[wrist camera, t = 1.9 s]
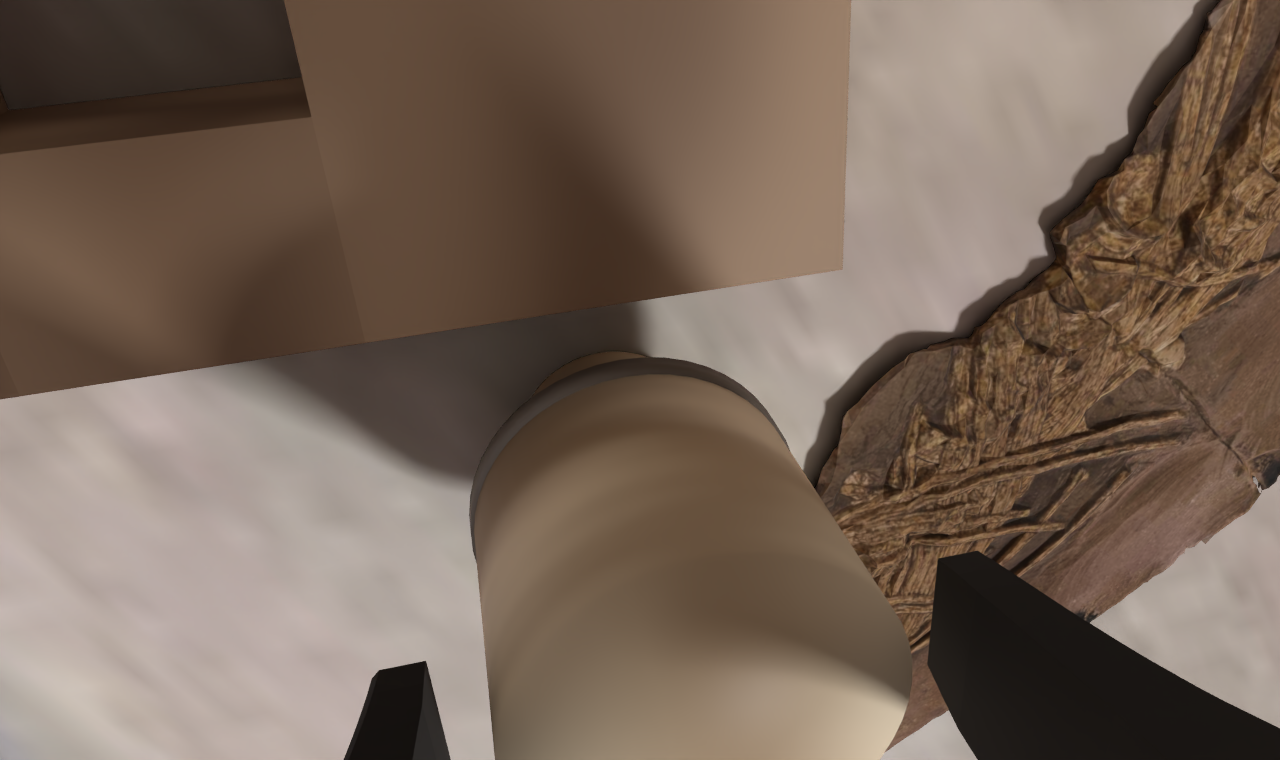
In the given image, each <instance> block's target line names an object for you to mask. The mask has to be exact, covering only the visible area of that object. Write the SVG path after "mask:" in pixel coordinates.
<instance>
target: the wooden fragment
mask: <svg viewBox="0 0 1280 760" xmlns="http://www.w3.org/2000/svg"><path fill="white" fill-rule="evenodd" d="M1153 104H1155V105H1156V106H1158V107H1157V108H1156V109H1155V110H1153V111H1152V112H1151V113H1149V116H1148V119H1147V121H1146V124H1145V127H1144V130H1143V131H1142V132H1141V133H1140V134H1139V136H1138V138H1137V141H1136V144H1135V147H1134V149H1133V151H1132V153H1131V154H1130V155H1129V156H1128V157H1127V158H1125V159H1124V161H1123V163H1122V164H1121V166H1120V167H1119V169H1118V171H1116V172H1114V173H1112V174H1110V175H1107V176H1105V177H1103V178H1101V179H1099V180H1098V181H1097V183H1096V184H1095V186H1094V188H1093V190H1092V191H1091V192H1090V194H1089V195H1088V196H1087V198H1086V199H1085V200H1084V201H1083V203H1082V204H1081V205H1080V206H1079V207H1077V208H1076V209H1074V210H1073V211H1072V212H1071V213H1070V214H1068V215H1067V216H1066V217H1065V218H1064V219H1063V220H1061V221H1060V222H1059V223H1058V224H1057V225H1056V226H1055V227H1054V228H1053V229H1052V230H1051V231H1050V236H1051V239H1052V242H1053V245H1054V249H1055V252H1056V260H1055V261H1054V262H1053V263H1052V265H1051V266H1050V267H1049V268H1048V269H1047V270H1046V271H1044V272H1043V273H1041V274H1040V275H1038V276H1037V277H1035V278H1034V279H1033V280H1032V281H1031V282H1030V283H1029V284H1028V286H1027V287H1026V288H1025V289H1024V290H1020V291H1018V292H1017V293H1015V294H1014V295H1012V296H1011V297H1009V298H1008V299H1006V300H1005V301H1004V302H1003V303H1002V304H1001V305H1000V306H999V307H998V308H997V309H996V311H995V312H994V313H993V314H992V315H991V317H990V318H989V319H988V320H987V322H986V323H984V324H983V325H982V326H979V327H975V328H974V332H973V334H972V335H971V337H970V338H951V339H949V340H947V341H945V342H941V343H936V344H932V345H930V346H929V347H928V349H923V350H920V351H917V352H914V353H911V354H909V355H908V356H907V357H906V359H905V360H904V361H902V362H900V363H899V364H897V365H896V366H894V367H893V368H892V369H891V370H890V371H889V372H887V373H886V374H885V375H884V376H883V377H882V378H881V379H879V380H878V381H877V382H876V383H875V384H874V385H873V386H872V387H871V388H870V389H869V390H868V391H867V393H866V394H865V395H864V396H863V397H862V398H861V400H860V401H859V402H858V403H857V404H856V405H854V406H853V407H852V408H851V409H849V410H848V411H847V412H846V414H845V415H844V416H843V419H842V422H841V425H842V432H841V435H840V439H839V443H838V446H837V447H836V448H835V449H834V450H833V452H832V454H831V456H830V457H829V459H828V461H827V462H826V464H825V465H824V467H823V468H822V470H821V473H820V476H819V480H818V484H817V486H816V488H815V490H816V492H817V493H818V495H819V497H820V498H821V500H822V501H823V503H824V504H825V506H826V507H827V509H828V510H829V512H830V513H831V515H832V516H833V518H834V519H835V521H836V523H837V524H838V526H839V527H840V529H841V530H842V532H843V533H844V535H845V536H846V538H847V539H848V541H849V542H850V544H851V546H852V547H853V549H854V550H855V552H856V553H857V555H858V556H859V558H860V559H861V561H862V562H863V564H864V565H865V567H866V568H867V570H868V572H869V573H870V575H871V576H872V578H873V579H874V581H875V582H876V584H877V585H878V587H879V588H880V590H881V591H882V593H883V595H884V596H885V598H886V599H887V601H888V602H889V604H890V605H891V607H892V608H893V610H894V612H895V613H896V615H897V616H898V618H899V620H900V621H901V623H902V625H903V627H904V630H905V633H906V635H907V638H908V641H909V645H910V650H911V656H912V685H911V691H910V697H909V702H908V705H907V708H906V711H905V714H904V717H903V720H902V722H901V724H900V726H899V728H898V730H897V732H896V734H895V736H894V738H893V740H892V741H891V743H890V745H889V746H888V748H887V749H886V751H887V750H889V749H890V748H892V747H893V746H894V745H896V744H897V743H898V742H900V741H901V740H903V739H904V738H906V737H908V736H909V735H911V734H912V733H914V732H916V731H917V730H919V729H920V728H922V727H923V726H924V725H926V724H927V723H928V722H930V721H931V720H932V719H934V718H936V717H938V716H941V715H942V714H944V713H945V712H946V711H948V710H949V709H948V707H947V705H946V703H945V701H944V699H943V697H942V695H941V693H940V691H939V688H938V686H937V684H936V682H935V680H934V678H933V676H932V673H931V671H930V669H929V667H928V665H927V661H928V651H929V641H930V631H931V621H932V611H933V601H934V591H935V581H936V571H937V561H938V558H943V557H948V556H953V555H958V554H963V553H968V552H973V551H979V552H981V553H982V554H984V555H986V556H987V557H989V558H990V559H992V560H994V561H995V562H997V563H998V564H1000V565H1001V566H1003V567H1004V568H1006V569H1007V570H1009V571H1010V572H1012V573H1014V574H1015V575H1017V576H1018V577H1020V578H1021V579H1023V580H1024V581H1026V582H1027V583H1029V584H1030V585H1032V586H1033V587H1035V588H1036V589H1038V590H1039V591H1041V592H1042V593H1044V594H1045V595H1047V596H1048V597H1050V598H1051V599H1053V600H1054V601H1056V602H1057V603H1059V604H1060V605H1062V606H1064V607H1065V608H1067V609H1068V610H1070V611H1071V612H1073V613H1074V614H1076V615H1077V616H1079V617H1081V618H1082V619H1084V620H1085V621H1087V622H1088V623H1090V622H1091V621H1092V620H1094V619H1095V618H1097V617H1098V616H1100V615H1101V614H1102V613H1104V612H1105V611H1106V610H1108V609H1109V608H1111V607H1112V606H1114V605H1116V604H1117V603H1118V602H1120V601H1121V600H1122V599H1124V598H1125V597H1126V596H1127V595H1128V594H1130V593H1132V592H1133V591H1134V590H1136V589H1137V588H1138V587H1140V586H1141V585H1142V584H1143V583H1145V582H1148V581H1149V580H1150V579H1151V578H1152V577H1153V576H1155V575H1157V574H1159V573H1161V572H1163V571H1164V570H1166V569H1167V568H1168V567H1169V566H1171V565H1172V564H1173V563H1174V562H1175V560H1176V559H1177V558H1178V556H1180V555H1181V554H1183V553H1184V552H1185V548H1191V547H1194V546H1195V545H1197V544H1198V543H1199V542H1200V541H1201V540H1202V541H1203V542H1204V543H1205V544H1206V543H1207V542H1208V541H1209V540H1210V539H1211V537H1212V536H1213V535H1214V534H1216V533H1217V532H1219V531H1220V530H1221V529H1223V528H1224V527H1225V526H1227V525H1228V524H1229V523H1231V522H1232V521H1233V520H1235V519H1237V518H1238V517H1240V516H1242V515H1244V514H1245V513H1246V512H1247V511H1249V510H1250V508H1251V507H1252V505H1253V504H1254V503H1255V501H1256V500H1257V498H1258V497H1259V496H1260V494H1261V493H1259V491H1258V489H1257V485H1256V484H1255V483H1254V482H1253V478H1252V476H1255V477H1256V478H1257V480H1258V488H1259V487H1260V486H1261V489H1262V490H1264V489H1267V488H1269V487H1270V486H1271V485H1272V484H1274V483H1275V482H1276V481H1277V477H1278V476H1279V475H1280V0H1220V2H1219V3H1218V4H1217V5H1216V6H1215V8H1214V9H1213V10H1212V11H1211V12H1208V13H1207V16H1206V21H1205V27H1204V31H1203V32H1202V33H1201V35H1200V37H1199V41H1198V46H1197V50H1196V52H1195V54H1194V55H1193V57H1192V59H1191V60H1190V61H1189V62H1188V63H1186V64H1185V65H1183V67H1182V68H1181V69H1180V70H1179V72H1178V73H1177V74H1176V75H1175V76H1174V78H1173V79H1172V80H1171V81H1170V82H1169V83H1168V84H1167V86H1166V87H1165V89H1164V90H1163V92H1162V93H1161V95H1160V96H1159V97H1158V98H1157V99H1156V100H1155V101H1154V103H1153ZM1261 484H1262V485H1261ZM1261 492H1262V491H1261ZM886 751H885V752H886ZM885 752H884V753H885Z"/></svg>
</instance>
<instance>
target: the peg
mask: <svg viewBox="0 0 1280 760" xmlns="http://www.w3.org/2000/svg"><path fill="white" fill-rule="evenodd" d="M469 516H470V527H471V537H472V546H473V552H474V556H475V559H476V563H477V569H478V580H479V591H480V602H481V613H482V623H483V634H484V645H485V656H486V667H487V678H488V688H489V699H490V710H491V721H492V732H493V742H494V753H495V760H880V758H881V757H882V755H883V754H884V752H885V751H886V749H887V748H888V746H889V745H890V743H891V741H892V740H893V738H894V736H895V734H896V732H897V730H898V728H899V726H900V724H901V722H902V720H903V717H904V714H905V711H906V708H907V705H908V702H909V697H910V691H911V685H912V656H911V650H910V645H909V641H908V638H907V635H906V633H905V630H904V627H903V625H902V623H901V621H900V620H899V618H898V616H897V615H896V613H895V612H894V610H893V608H892V607H891V605H890V604H889V602H888V601H887V599H886V598H885V596H884V595H883V593H882V591H881V590H880V588H879V587H878V585H877V584H876V582H875V581H874V579H873V578H872V576H871V575H870V573H869V572H868V570H867V568H866V567H865V565H864V564H863V562H862V561H861V559H860V558H859V556H858V555H857V553H856V552H855V550H854V549H853V547H852V546H851V544H850V542H849V541H848V539H847V538H846V536H845V535H844V533H843V532H842V530H841V529H840V527H839V526H838V524H837V523H836V521H835V519H834V518H833V516H832V515H831V513H830V512H829V510H828V509H827V507H826V506H825V504H824V503H823V501H822V500H821V498H820V497H819V495H818V493H817V492H816V490H815V489H814V487H813V486H812V484H811V483H810V481H809V480H808V478H807V477H806V475H805V474H804V472H803V471H802V469H801V467H800V466H799V464H798V463H797V461H796V460H795V458H794V457H793V455H792V454H791V452H790V450H789V447H788V445H787V442H786V440H785V438H784V437H783V435H782V433H781V432H780V430H779V428H778V427H777V425H776V424H775V422H774V421H773V419H772V418H771V416H770V415H769V413H768V412H767V410H766V409H765V408H764V406H763V405H762V404H761V403H760V402H759V401H758V400H757V398H756V397H755V396H754V395H753V394H751V393H750V392H749V391H748V390H747V389H745V388H744V387H743V386H742V385H741V384H739V383H738V382H736V381H734V380H733V379H731V378H729V377H728V376H726V375H725V374H722V373H720V372H718V371H715V370H713V369H711V368H708V367H706V366H703V365H699V364H696V363H692V362H688V361H684V360H677V359H670V358H653V357H645V356H642V355H638V354H635V353H629V352H612V351H611V352H601V353H596V354H591V355H587V356H584V357H582V358H579V359H576V360H574V361H572V362H570V363H568V364H566V365H564V366H563V367H561V368H560V369H558V370H556V371H555V372H554V373H553V374H551V375H550V376H549V377H548V378H547V379H546V380H545V381H544V382H543V383H542V384H541V385H540V386H539V387H538V389H537V390H536V391H535V393H534V394H533V396H532V398H531V399H529V400H528V401H527V402H526V403H525V404H523V405H522V406H521V407H520V408H518V409H517V410H516V412H515V413H514V414H513V415H512V416H511V417H510V418H509V419H508V420H507V421H506V422H505V423H504V424H503V425H502V427H501V428H500V429H499V431H498V432H497V434H496V435H495V436H494V438H493V439H492V440H491V442H490V444H489V445H488V447H487V449H486V451H485V453H484V455H483V457H482V458H481V461H480V463H479V466H478V469H477V471H476V474H475V477H474V481H473V486H472V490H471V495H470V513H469Z"/></svg>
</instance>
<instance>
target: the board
mask: <svg viewBox="0 0 1280 760" xmlns="http://www.w3.org/2000/svg"><path fill="white" fill-rule="evenodd" d="M284 3H285V8H286V12H287V16H288V20H289V24H290V29H291V33H292V37H293V41H294V45H295V50H296V54H297V58H298V62H299V66H300V71H301V75H302V77H299V78H290V79H281V80H272V81H263V82H254V83H246V84H237V85H228V86H219V87H210V88H201V89H192V90H184V91H175V92H166V93H157V94H148V95H139V96H130V97H122V98H113V99H104V100H95V101H86V102H77V103H68V104H60V105H51V106H42V107H33V108H24V109H15V110H8V108H7V105H6V102H5V100H4V97H3V95H2V92H1V90H0V399H5V398H12V397H18V396H25V395H31V394H38V393H44V392H51V391H57V390H64V389H70V388H77V387H83V386H90V385H96V384H102V383H109V382H115V381H122V380H128V379H135V378H141V377H148V376H154V375H161V374H167V373H174V372H180V371H187V370H193V369H200V368H206V367H213V366H219V365H226V364H232V363H239V362H245V361H252V360H258V359H265V358H271V357H278V356H284V355H291V354H297V353H304V352H310V351H317V350H323V349H330V348H336V347H343V346H349V345H356V344H362V343H369V342H375V341H382V340H388V339H395V338H401V337H407V336H414V335H420V334H427V333H433V332H440V331H446V330H453V329H459V328H466V327H472V326H479V325H485V324H492V323H498V322H505V321H511V320H518V319H524V318H531V317H537V316H544V315H550V314H557V313H563V312H570V311H576V310H583V309H589V308H596V307H602V306H609V305H615V304H622V303H628V302H635V301H641V300H648V299H654V298H661V297H667V296H674V295H680V294H687V293H693V292H700V291H706V290H712V289H719V288H725V287H732V286H738V285H745V284H751V283H758V282H764V281H771V280H777V279H784V278H790V277H797V276H803V275H810V274H816V273H823V272H829V271H836V270H842V269H843V237H844V206H845V174H846V143H847V111H848V80H849V48H850V17H851V0H284Z"/></svg>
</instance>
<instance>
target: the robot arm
mask: <svg viewBox="0 0 1280 760" xmlns="http://www.w3.org/2000/svg"><path fill="white" fill-rule="evenodd" d="M927 665H928V667H929V669H930V671H931V673H932V676H933V678H934V680H935V682H936V684H937V686H938V688H939V691H940V693H941V695H942V697H943V699H944V701H945V703H946V705H947V707H948V709H949V711H950V713H951V715H952V717H953V719H954V721H955V723H956V725H957V727H958V729H959V731H960V732H961V734H962V736H963V737H964V739H965V740H966V742H967V744H968V745H969V747H970V748H971V750H972V751H973V753H974V755H975V756H976V758H977V759H978V760H1280V728H1278V727H1276V726H1274V725H1272V724H1270V723H1268V722H1266V721H1264V720H1261V719H1259V718H1257V717H1255V716H1253V715H1251V714H1249V713H1247V712H1245V711H1243V710H1241V709H1239V708H1237V707H1235V706H1233V705H1231V704H1229V703H1227V702H1225V701H1223V700H1221V699H1219V698H1217V697H1215V696H1213V695H1211V694H1210V693H1208V692H1206V691H1204V690H1202V689H1200V688H1198V687H1196V686H1195V685H1193V684H1191V683H1189V682H1188V681H1186V680H1184V679H1182V678H1180V677H1179V676H1177V675H1175V674H1173V673H1172V672H1170V671H1168V670H1166V669H1165V668H1163V667H1161V666H1159V665H1157V664H1156V663H1154V662H1152V661H1150V660H1149V659H1147V658H1145V657H1144V656H1142V655H1140V654H1139V653H1137V652H1135V651H1134V650H1132V649H1130V648H1129V647H1127V646H1125V645H1124V644H1122V643H1120V642H1119V641H1117V640H1115V639H1114V638H1112V637H1111V636H1109V635H1107V634H1106V633H1104V632H1103V631H1101V630H1099V629H1098V628H1096V627H1095V626H1093V625H1092V624H1090V623H1088V622H1087V621H1085V620H1084V619H1082V618H1081V617H1079V616H1077V615H1076V614H1074V613H1073V612H1071V611H1070V610H1068V609H1067V608H1065V607H1064V606H1062V605H1060V604H1059V603H1057V602H1056V601H1054V600H1053V599H1051V598H1050V597H1048V596H1047V595H1045V594H1044V593H1042V592H1041V591H1039V590H1038V589H1036V588H1035V587H1033V586H1032V585H1030V584H1029V583H1027V582H1026V581H1024V580H1023V579H1021V578H1020V577H1018V576H1017V575H1015V574H1014V573H1012V572H1010V571H1009V570H1007V569H1006V568H1004V567H1003V566H1001V565H1000V564H998V563H997V562H995V561H994V560H992V559H990V558H989V557H987V556H986V555H984V554H982V553H981V552H979V551H973V552H968V553H963V554H958V555H953V556H948V557H943V558H938V561H937V571H936V581H935V591H934V601H933V611H932V621H931V631H930V641H929V651H928V661H927ZM344 760H451V759H450V755H449V751H448V747H447V743H446V739H445V735H444V731H443V727H442V723H441V719H440V715H439V711H438V707H437V703H436V699H435V695H434V691H433V687H432V683H431V679H430V675H429V671H428V667H427V663H426V661H423V662H418V663H413V664H408V665H403V666H398V667H393V668H388V669H383V670H379V671H378V672H377V673H376V675H375V676H374V677H373V678H372V680H371V684H370V687H369V691H368V694H367V697H366V700H365V703H364V706H363V709H362V712H361V715H360V718H359V721H358V724H357V726H356V729H355V732H354V735H353V737H352V740H351V742H350V745H349V748H348V750H347V753H346V755H345V758H344Z"/></svg>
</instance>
